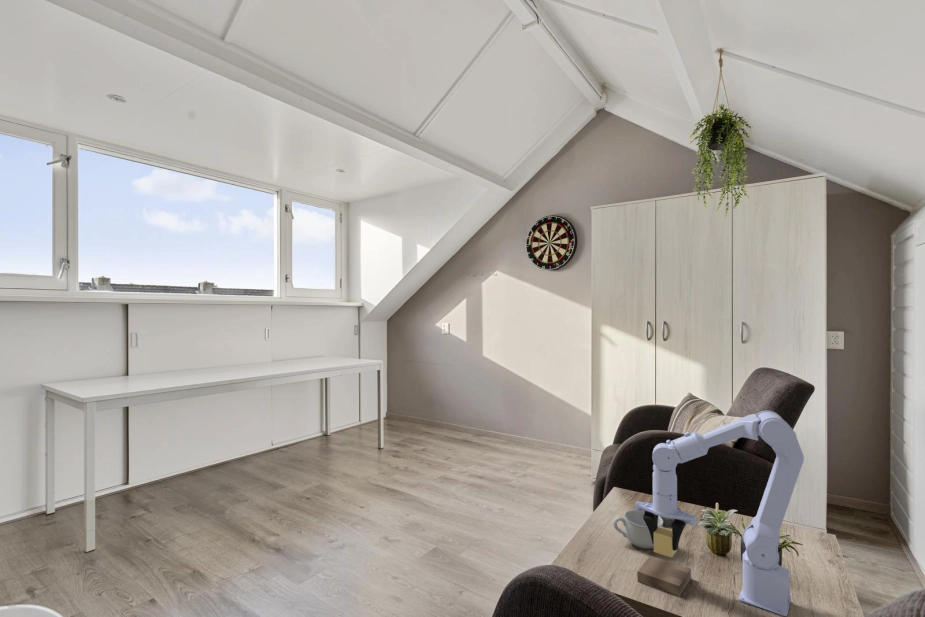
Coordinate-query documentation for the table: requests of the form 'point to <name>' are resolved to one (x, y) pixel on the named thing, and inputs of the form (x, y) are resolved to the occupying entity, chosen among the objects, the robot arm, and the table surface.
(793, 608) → the table surface
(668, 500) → the robot arm
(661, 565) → the walnut plinth
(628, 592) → the table surface
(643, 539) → the teacup
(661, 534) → the mustard block
